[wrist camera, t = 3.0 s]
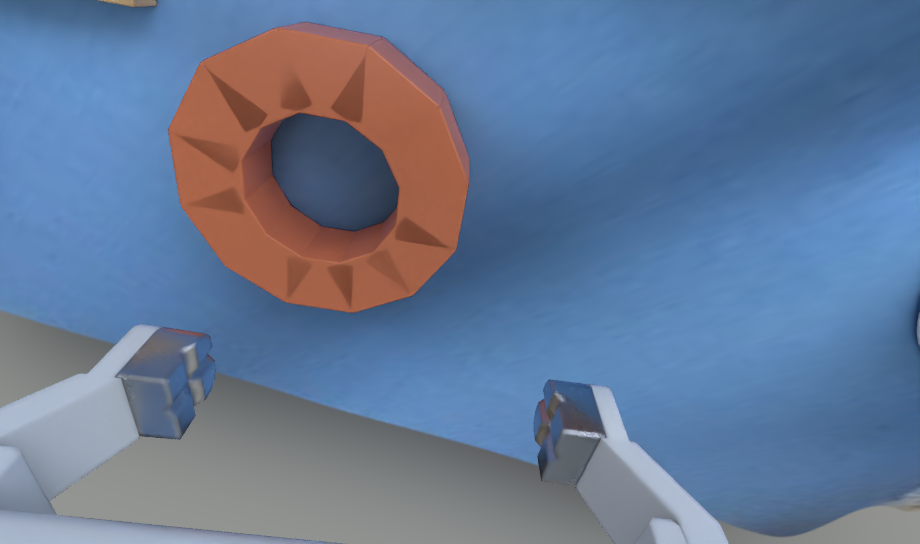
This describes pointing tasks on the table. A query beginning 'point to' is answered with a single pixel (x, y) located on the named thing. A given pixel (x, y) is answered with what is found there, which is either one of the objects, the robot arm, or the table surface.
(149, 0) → the stand
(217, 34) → the table surface
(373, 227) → the ring
